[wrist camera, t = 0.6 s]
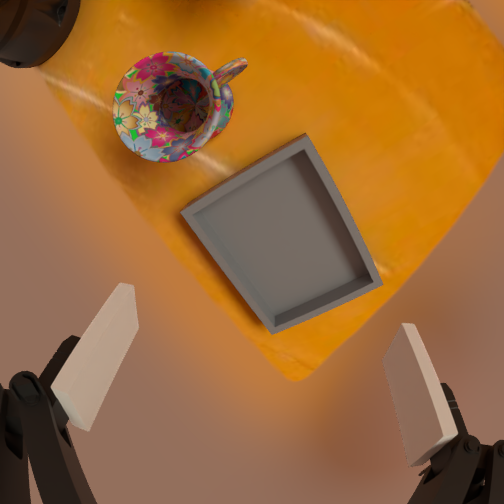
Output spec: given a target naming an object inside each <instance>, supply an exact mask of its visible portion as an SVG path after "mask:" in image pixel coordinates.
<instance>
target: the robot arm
mask: <svg viewBox="0 0 504 504" xmlns="http://www.w3.org/2000/svg"><path fill="white" fill-rule="evenodd" d="M79 7H80V0H0V62H2V63H4V64H6V65H8V66H10V67H14V68H31V67H35V66H37V65H40V64H41V63H43V62H45V61H46V60H47V59H49V58H50V57H51V56H52V55H53V54H54V53H55V52H56V51H57V50H58V49H59V48H60V46H61V45H62V44H63V43H64V41H65V40H66V38H67V37H68V35H69V33H70V31H71V29H72V27H73V25H74V23H75V21H76V18H77V15H78V11H79ZM138 329H139V325H138V317H137V309H136V301H135V292H134V286H133V285H129V284H125V283H119V284H118V286H117V287H116V288H115V290H114V291H113V293H112V294H111V295H110V297H109V298H108V299H107V301H106V302H105V304H104V305H103V307H102V308H101V309H100V311H99V312H98V314H97V315H96V317H95V318H94V320H93V321H92V323H91V324H90V326H89V327H88V328H87V330H86V331H85V333H84V335H83V336H82V337H81V338H79V337H76V336H73V335H71V336H70V337H69V338H68V339H66V340H65V341H63V342H62V344H61V345H60V347H59V348H58V350H57V352H56V353H55V354H54V356H53V358H52V359H51V360H50V361H49V363H48V364H47V366H46V368H45V369H44V371H43V372H42V374H41V375H40V377H39V378H37V376H36V375H35V374H34V373H32V372H29V371H21V372H19V373H17V374H15V375H14V376H13V377H12V379H11V380H10V383H9V389H10V390H9V389H4V388H3V387H2V385H1V384H0V504H31V499H30V489H29V474H28V456H29V460H30V463H31V467H32V471H33V474H34V478H35V481H36V484H37V487H38V490H39V493H40V496H41V499H42V502H43V504H97V502H96V500H95V498H94V496H93V494H92V492H91V489H90V487H89V485H88V483H87V480H86V478H85V475H84V473H83V470H82V468H81V465H80V463H79V460H78V457H77V455H76V452H75V449H74V446H73V443H72V441H71V438H70V435H69V432H68V428H67V426H66V424H67V422H68V420H69V419H70V421H71V423H72V424H73V426H76V427H78V428H81V429H83V430H86V431H88V432H89V431H90V428H91V426H92V424H93V422H94V419H95V417H96V415H97V412H98V410H99V408H100V406H101V404H102V402H103V400H104V398H105V395H106V393H107V391H108V389H109V387H110V385H111V383H112V380H113V379H114V376H115V374H116V372H117V370H118V368H119V366H120V364H121V362H122V360H123V358H124V356H125V354H126V352H127V350H128V348H129V346H130V344H131V342H132V340H133V338H134V336H135V334H136V332H137V331H138ZM382 363H383V367H384V370H385V373H386V377H387V381H388V384H389V387H390V392H391V395H392V399H393V403H394V407H395V410H396V415H397V419H398V423H399V427H400V431H401V436H402V440H403V444H404V449H405V454H406V459H407V463H408V467H413V466H419V465H423V464H424V463H425V462H427V461H428V460H429V459H430V461H431V465H429V466H428V467H427V468H426V469H424V470H423V471H422V472H421V473H420V474H419V476H421V475H422V474H424V473H425V474H424V476H423V477H422V480H421V481H420V483H419V485H418V486H417V488H416V490H415V492H414V493H413V495H412V497H411V499H410V500H409V502H408V504H504V440H499V441H497V442H496V443H495V444H494V445H493V446H490V445H483V444H480V442H479V440H478V439H477V438H476V437H474V436H472V435H469V434H468V432H467V429H466V426H465V424H464V421H463V418H462V415H461V413H460V410H459V409H458V405H457V402H455V397H454V395H453V392H452V390H451V389H450V388H449V387H448V385H447V384H446V383H440V382H439V380H438V377H437V375H436V372H435V370H434V367H433V365H432V363H431V360H430V358H429V356H428V353H427V351H426V349H425V347H424V344H423V342H422V340H421V338H420V335H419V334H418V331H417V329H416V327H415V325H414V324H408V323H402V324H401V326H400V328H399V330H398V332H397V334H396V335H395V337H394V339H393V341H392V343H391V345H390V347H389V349H388V351H387V352H386V354H385V356H384V358H383V360H382ZM484 480H485V482H484ZM483 484H484V485H483Z"/></svg>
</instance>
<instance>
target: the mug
mask: <svg viewBox="0 0 504 504" xmlns="http://www.w3.org/2000/svg"><path fill="white" fill-rule="evenodd" d="M247 65H248V62H247V61H246V59H245V58H238V59H236V60H233V61H231V62H229V63H227V64H225V65H224V66H222V67H221V68H219V69H218V70H216V71H215V72H214V71H211V70H209V69H208V68H207V67H206V66H205V65H204V64H203V63H202V62H200V61H199V60H197V59H196V58H194V57H192V56H189V55H187V54H183V53H179V52H161V53H157V54H153V55H150V56H148V57H146V58H144V59H142V60H140V61H139V62H138V63H136V64H135V65H134V66H133V67H131V68H130V69H129V70H128V71H127V73H126V74H125V75H124V77H123V78H122V80H121V81H120V83H119V85H118V87H117V90H116V93H115V96H114V101H113V120H114V124H115V128H116V130H117V133H118V135H119V137H120V138H121V140H122V141H123V143H124V144H125V145H126V146H127V147H128V148H129V149H130V150H131V151H132V152H133V153H135V154H136V155H138V156H140V157H142V158H144V159H147V160H150V161H154V162H174V161H178V160H181V159H184V158H186V157H188V156H190V155H192V154H193V153H195V152H196V151H198V150H199V149H200V148H201V147H202V146H203V145H204V144H205V143H206V142H207V141H208V140H209V139H211V138H213V137H215V136H216V135H218V134H219V133H220V132H221V131H222V130H223V129H224V128H225V127H226V125H227V124H228V122H229V120H230V118H231V115H232V112H233V96H232V92H231V89H230V87H229V85H228V84H227V83H228V82H229V81H230V80H232V79H233V78H234V77H236V76H237V75H238V74H240V73H241V72H242V71H243V70H244V69H245V68H246V67H247ZM227 73H228V74H227ZM225 74H226V75H225ZM224 75H225V76H224ZM222 76H224V77H222Z"/></svg>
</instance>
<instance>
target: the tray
mask: <svg viewBox="0 0 504 504" xmlns="http://www.w3.org/2000/svg"><path fill="white" fill-rule="evenodd" d="M180 213H181V214H182V216H183V217H184V218H185V220H186V221H187V223H188V224H189V225H190V227H191V228H192V230H193V231H194V232H195V234H196V235H197V236H198V238H199V239H200V241H201V242H202V243H203V245H204V246H205V247H206V249H207V250H208V251H209V253H210V254H211V255H212V257H213V258H214V259H215V261H216V262H217V264H218V265H219V266H220V268H221V269H222V270H223V272H224V273H225V274H226V276H227V277H228V278H229V280H230V281H231V282H232V284H233V285H234V286H235V288H236V289H237V290H238V291H239V293H240V294H241V295H242V297H243V298H244V299H245V301H246V302H247V303H248V305H249V306H250V307H251V309H252V310H253V311H254V312H255V314H256V315H257V316H258V318H259V319H260V320H261V321H262V323H263V324H264V325H265V327H266V328H267V329H268V330H269V332H270V333H271V334H272V335H273V334H275V333H278V332H280V331H283V330H285V329H287V328H290V327H292V326H295V325H297V324H299V323H302V322H304V321H306V320H309V319H311V318H313V317H315V316H318V315H320V314H322V313H324V312H327V311H329V310H331V309H333V308H335V307H338V306H340V305H342V304H344V303H346V302H348V301H351V300H353V299H355V298H357V297H359V296H361V295H363V294H365V293H367V292H369V291H371V290H373V289H375V288H377V287H380V286H382V285H383V283H382V280H381V278H380V276H379V273H378V271H377V269H376V267H375V264H374V262H373V260H372V258H371V256H370V253H369V251H368V249H367V247H366V245H365V243H364V240H363V238H362V236H361V234H360V232H359V230H358V228H357V226H356V224H355V222H354V220H353V218H352V216H351V214H350V212H349V210H348V208H347V206H346V204H345V202H344V200H343V198H342V196H341V194H340V192H339V190H338V189H337V187H336V185H335V183H334V181H333V179H332V177H331V175H330V174H329V172H328V170H327V168H326V166H325V165H324V163H323V161H322V159H321V157H320V156H319V154H318V152H317V150H316V149H315V147H314V145H313V144H312V142H311V140H310V138H309V137H308V135H307V134H306V133H305V134H303V135H301V136H299V137H297V138H295V139H294V140H292V141H290V142H288V143H286V144H285V145H283V146H281V147H279V148H278V149H276V150H274V151H272V152H271V153H269V154H267V155H266V156H264V157H262V158H260V159H259V160H257V161H255V162H254V163H252V164H250V165H249V166H247V167H245V168H244V169H242V170H240V171H239V172H237V173H235V174H234V175H232V176H230V177H229V178H227V179H225V180H224V181H222V182H221V183H219V184H217V185H216V186H214V187H213V188H211V189H210V190H208V191H206V192H205V193H203V194H202V195H200V196H199V197H197V198H195V199H194V200H192V201H191V202H189V203H188V204H187V205H186V206H185V207H184V208H183V209H182V211H181V212H180Z"/></svg>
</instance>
